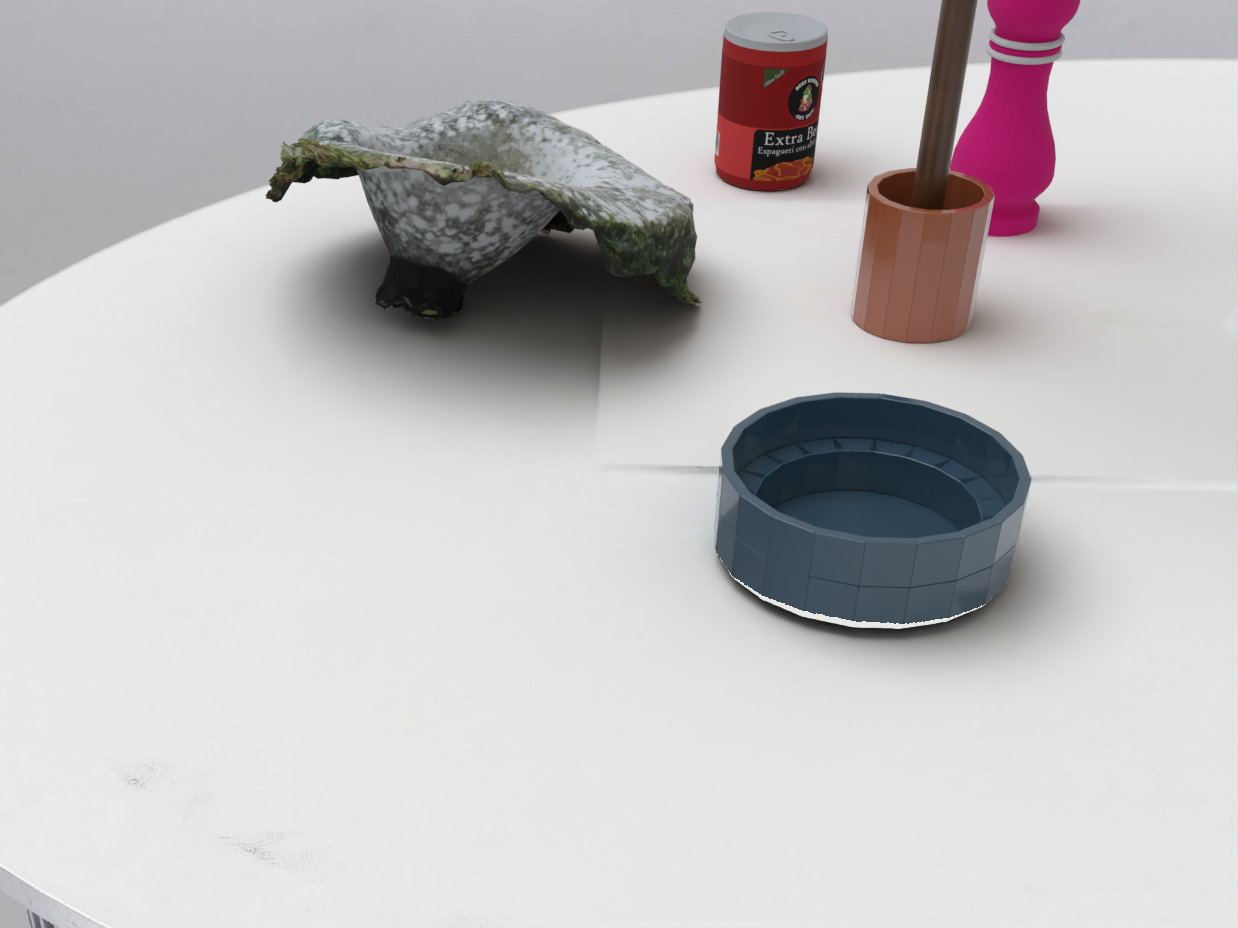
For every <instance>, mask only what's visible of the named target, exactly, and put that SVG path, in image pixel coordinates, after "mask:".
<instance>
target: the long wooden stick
mask: <svg viewBox="0 0 1238 928" xmlns="http://www.w3.org/2000/svg"><path fill="white" fill-rule="evenodd" d="M977 7H978V0H941V3H940V8H939V9H940V10H939V15H938V22H937V27H936V29H937V30H936V36H935V42H934V49H933V55H932V56H933V57H932V61H931V68H930V74H929V82H928V89H927V93H926V94H927V95H926V101H925V108H924V115H923V120H922V121H923V122H922V127H921V134H920V140H919V147H918V152H917V153H918V155H917V160H916V166H915V168H916V173H915V179H914V186H913V193H912V199H911V206H910V207H914V208H920V209H926V210H943V207H944V201H945V194H946V188H947V182H948V176H949V171H950V164H951V160H952V156H953V153H954V146H955V140H956V133H957V128H958V127H957V126H958V121H959V115H960V109H961V103H962V98H963V97H962V96H963V90H964V85H965V79H966V72H967V68H968V61H969V55H970V49H971V43H972V37H973V32H974V31H973V29H974V24H975V18H976V14H977V13H976V12H977Z"/></svg>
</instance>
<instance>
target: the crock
mask: <svg viewBox="0 0 1238 928" xmlns="http://www.w3.org/2000/svg"><path fill="white" fill-rule="evenodd" d="M915 173H916V167H907V168H899V169H893V170H888V171H885V172H883V173H881V174H878V175H875V176H874V177H872V179H871V180H870V181H869V182H868V184H867V186H866V194H865V200H864V206H863V207H864V209H863V214H862V215H863V216H862V223H861V229H860V237H859V238H860V239H859V244H858V245H859V246H858V254H857V258H856V259H857V260H856V266H855V267H856V268H855V273H854V274H855V275H854V283H853V289H852V290H853V291H852V297H851V304H850V314H851V315H850V317H851V319H852V322H853V323H854V324H855V325H856V326H857V327H858V328H860V329H861V330H862V331H864V332H866V333H867V334H870V335H871V336H874V337H877V338H880V339H883V340H887V341H892V342H897V343H902V344H914V345H915V344H917V345H923V344H925V345H929V344H937V343H944V342H948V341H952V340H955V339H956V338H959V337H961V336H963V335H964V334H965V333H967V331H968V330H969V328H970V326H971V325H972V322H973V317H974V311H975V306H976V300H977V295H978V290H979V284H980V278H981V274H982V268H983V263H984V257H985V252H986V246H987V241H988V237H989V236H988V231H989V225H990V220H991V214H992V209H993V203H994V198H995V195H994V193H993V191H992V188H991V187H990V186H989V185H987V184H986V183H984V182H983V181H981V180H980V179H977V178H975V177H972V176H969V175H966V174H963V173H960V172H956V171H950V170H949V176H948V182H947V188H946V194H945V201H944V207H943V210H926V209H920V208H914V207H910V206H911V199H912V193H913V186H914V179H915Z"/></svg>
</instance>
